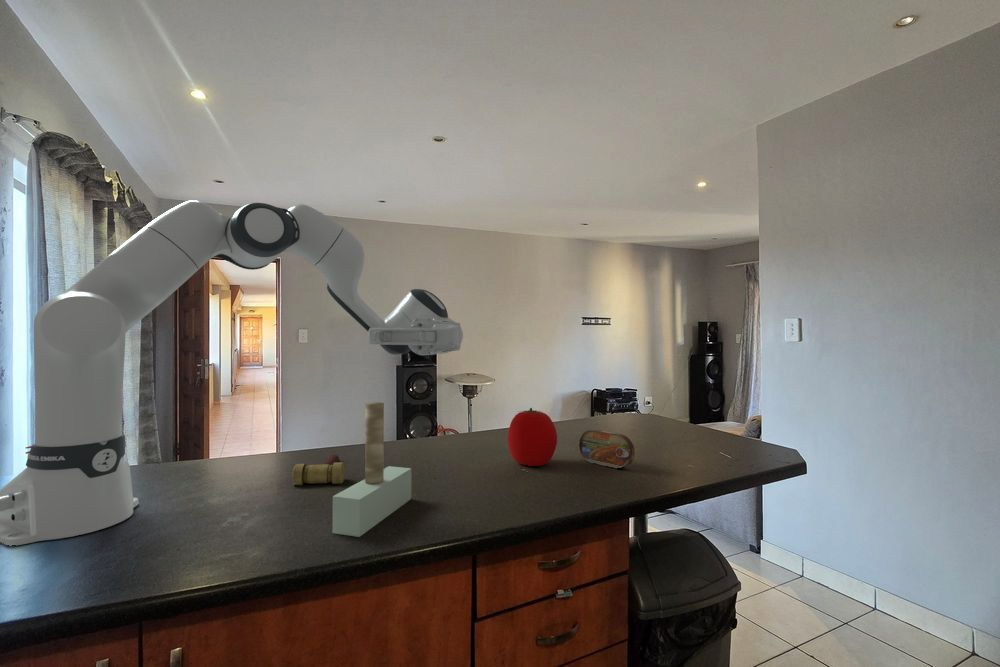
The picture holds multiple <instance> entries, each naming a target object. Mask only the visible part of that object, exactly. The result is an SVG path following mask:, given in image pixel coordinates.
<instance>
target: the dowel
mask: <svg viewBox="0 0 1000 667" xmlns="http://www.w3.org/2000/svg"><path fill="white" fill-rule="evenodd" d="M364 404H365V406H364V408H365V409H364V410H365V412H364V414H365V415H364V420H365V421H364V422H365V424H364V425H365V426H364V434H365V436H364V438H365V439H364V443H365V444H364V446H365V448H364V451H365V452H364V457H365V458H364V461H365V462H364V466H365V467H364V479H365V483H366V484H370V485H374V484H380V483H382V482H383V481H384V469H385V468H384V466H385V465H384V463H385V462H384V460H385V459H384V452H385V449H384V446H385V438H384V437H385V434H384V433H385V432H384V431H385V426H384V423H385V422H384V421H385V419H384V418H385V416H384V415H385V406H384V405H385V404H384V402H381V401H380V402H379V401H378V402H377V401H372V402H367V403H364Z"/></svg>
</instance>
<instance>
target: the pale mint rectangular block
mask: <svg viewBox="0 0 1000 667" xmlns="http://www.w3.org/2000/svg"><path fill="white" fill-rule="evenodd" d="M410 500H412V468H410V467H402V466H401V467H400V466H390V465H388V466H386V467H385V468H384V481H383V482H382V483H380V484H374V485H370V484H366V483H365V478H364V479H362V480H361V481H359V482H357V483H355V484H353V485H350V486H349V487H348V488H346V489H344V490H342V491H339V492H338V493H336V494H335V495H333V496H332V529H331V530H332V534H336V535H344V536H351V537H357V538H360V537H361V536H363V535H364V534H366V533H367V532H368V531H369V530H372V528H373V527H375V526H376V525H378V524H379V523H380V522H383V520H385V519H386V518H387V517H389V516H390V515H391V514H393V513H394V512H396V511H397V510H398V509H400V508H401V507H402V506H404V505H405V504H407V503H408V502H409V501H410Z"/></svg>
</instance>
